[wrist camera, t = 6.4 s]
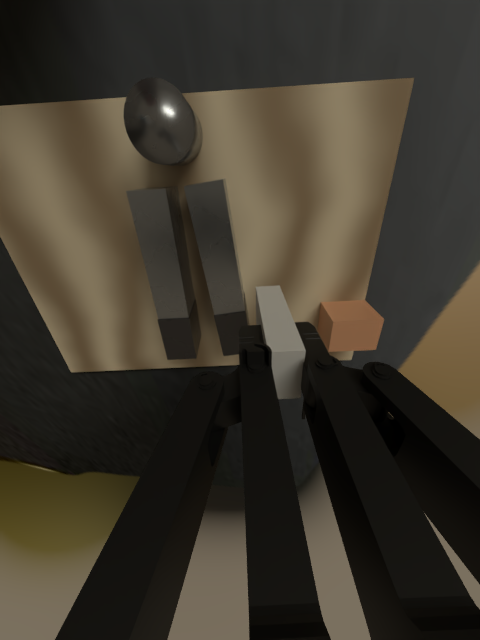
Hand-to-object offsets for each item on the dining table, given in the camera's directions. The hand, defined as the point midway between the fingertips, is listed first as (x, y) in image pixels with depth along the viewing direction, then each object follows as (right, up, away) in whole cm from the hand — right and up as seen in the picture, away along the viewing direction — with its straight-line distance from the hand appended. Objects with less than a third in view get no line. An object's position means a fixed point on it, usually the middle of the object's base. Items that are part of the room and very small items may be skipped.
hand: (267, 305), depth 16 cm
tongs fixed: (-6, +5, +4) cm, 9 cm away
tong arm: (-3, +3, +5) cm, 7 cm away
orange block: (+8, 0, +8) cm, 11 cm away
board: (-6, +4, +6) cm, 9 cm away
